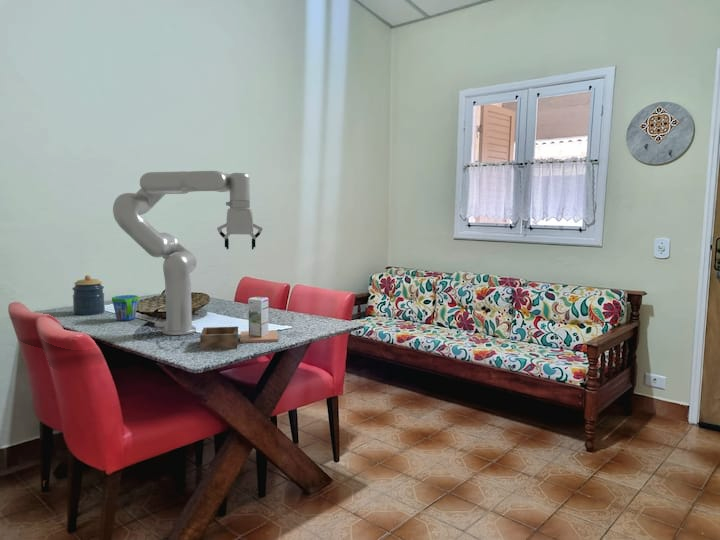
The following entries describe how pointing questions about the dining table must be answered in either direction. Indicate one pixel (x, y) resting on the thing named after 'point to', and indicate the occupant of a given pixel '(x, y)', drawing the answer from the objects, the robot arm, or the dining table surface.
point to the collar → (219, 338)
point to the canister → (88, 297)
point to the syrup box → (258, 316)
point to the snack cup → (125, 307)
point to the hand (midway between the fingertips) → (240, 249)
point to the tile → (267, 338)
